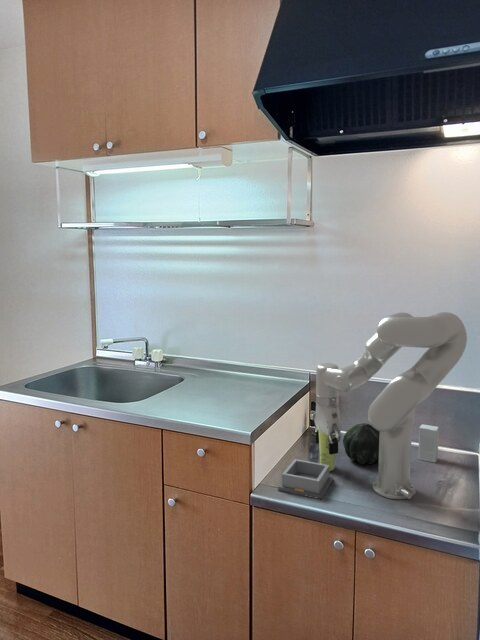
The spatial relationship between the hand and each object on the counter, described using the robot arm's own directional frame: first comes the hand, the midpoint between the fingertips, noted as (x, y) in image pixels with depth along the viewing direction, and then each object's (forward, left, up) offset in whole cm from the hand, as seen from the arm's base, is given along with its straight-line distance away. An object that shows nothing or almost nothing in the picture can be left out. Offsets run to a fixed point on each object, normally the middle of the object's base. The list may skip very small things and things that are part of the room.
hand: (326, 448), depth 171 cm
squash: (+1, -16, -8) cm, 18 cm away
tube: (0, 0, -7) cm, 7 cm away
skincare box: (-7, -37, -7) cm, 38 cm away
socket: (-8, +12, -7) cm, 16 cm away
